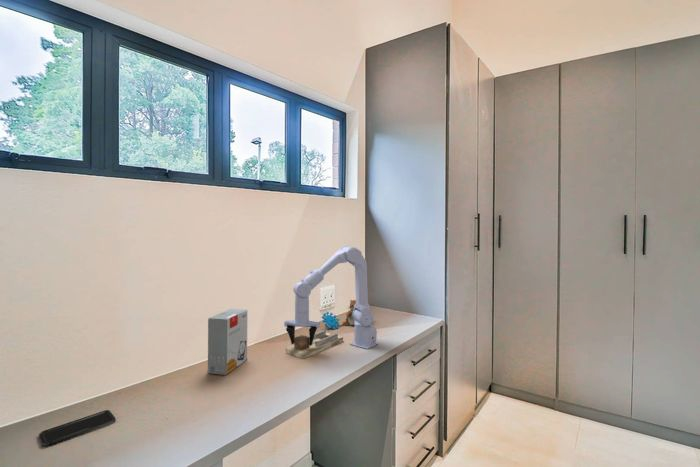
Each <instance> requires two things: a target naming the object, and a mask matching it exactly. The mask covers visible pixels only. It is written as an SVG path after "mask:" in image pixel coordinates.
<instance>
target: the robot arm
mask: <svg viewBox="0 0 700 467" xmlns="http://www.w3.org/2000/svg"><path fill="white" fill-rule="evenodd" d="M345 263H349V264H350V265H352V266H353V267H354V278H355V279H354V282H355V283H354V284H355V286H354V287H355V300H356V303H355V305H354V310H353V313H352V316H353V318H354V319H355V323H354V326H353V327H354V328H353V329H354V330H353V331H354V332H353V333H354V338H353V339H354V341H353V342H350V345H352V346H355V347H359V348H362V349H366V350H368V349H371V348H373V347H375V346H376V344H377V345H378V342H377V341H378V340H377V339H378V338H377V335H378V334H377V332H378V331H377V328H376V327H375V326H373V325H372V323H373V321H374V314H373V313H372V308H371V306H370V304H369V297H368V296H369V293H368V291H369V290H368V263H367V261H366V259H365V257H364V256H363V253H362V251H361V250H360V249H358V248H357V247H354V246H353V247H351V246H348V245H343V246H342V247H341V248H340V249H338V250H337V251H336V252H335V253H334V254H333V255H332V256H331V257H330V258H329V259H327V261H326V262H325V263H324V264H323V265H322V266H321V267H319V269H313V270H312V269H311V270H310V271H309V273H308V274H307V275H306V276H305V277H304V278H301V279H300V280H301V281H298V282H297V283H295V284H294V286H293V293H294V295H295V296H294V300H295V301H294V319H293V320H284V323H283V324H284V327H286V328H285V330H286V332H287V334H288V336H289V339H290V342H291V345H294V338H295V337H296V336H295V335H296V334H295V333H296V332H295V331H296V327H301V328H309V329H308V332H309V336H310V342H309V344H310V345H312V343H313V338H314V335H315V334H316V333H317V330H318V329H319V328H320V325H321V324H320V321H315V320H310V299H309V298H310V295H311V293H312V291H313V290H314V289H315V288H316V287H317V286H319V284H320V283H321V282H322V281H323V280H324V277H325V275H326V274H327V273H329V272H330V271H331V270H332V269H334V268H335V267H336V266H337V265H338V264H345Z"/></svg>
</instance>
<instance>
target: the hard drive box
mask: <svg viewBox="0 0 700 467" xmlns="http://www.w3.org/2000/svg"><path fill="white" fill-rule="evenodd" d="M247 359H248V309H242V308H230V309H227V310H225V311H222V312H220V313H218V314H215V315H213V316H211V317H208V320H207V373H208V374H212V375H213V374H214V375H220V376H221V375H222V376H227V375H228V374H230V373H231V372H233V371H234V370H235V369H236V368H237V367H239V366H240V365H241V364H243V363H245V361H247Z"/></svg>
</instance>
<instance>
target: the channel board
mask: <svg viewBox="0 0 700 467" xmlns="http://www.w3.org/2000/svg"><path fill="white" fill-rule="evenodd" d="M307 337H309V342H310V335H308V336H307ZM343 342H344V337H343V336H339V334H338V333H337V332H336V333H334V334H333V333H329V332H327V330H322V331H318V332H315V335H314V338H313V343H312V345H310V344H309V348H307V349H305V350H302V351H301V350H298V349H295V348H294V344H292V345H290V346H288V347H285V354H287V355H290V356H294V357H296V358H299V359H303V360H304V359H306V358H309V357H311V356H313V355H315V354H318V353H320V352H321V351H325V350H327V349H329V348H332V347H333V346H336V345H338V344H340V343H343Z"/></svg>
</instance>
